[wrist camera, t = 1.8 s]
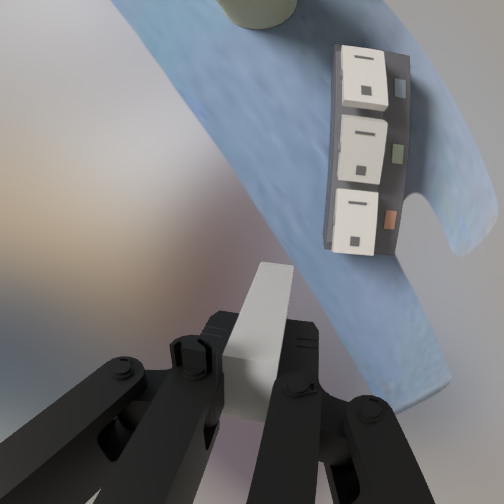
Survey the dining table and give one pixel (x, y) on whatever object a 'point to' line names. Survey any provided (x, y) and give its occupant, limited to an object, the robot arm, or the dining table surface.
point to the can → (258, 12)
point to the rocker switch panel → (395, 149)
